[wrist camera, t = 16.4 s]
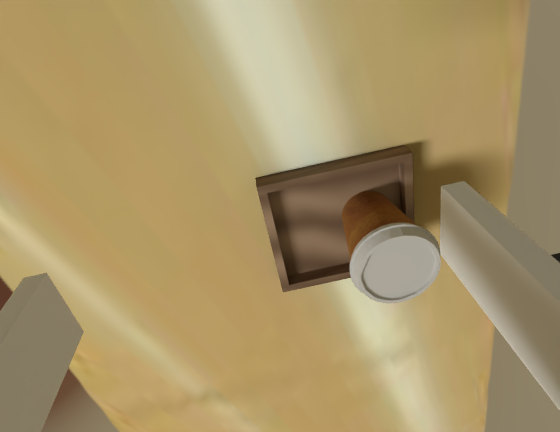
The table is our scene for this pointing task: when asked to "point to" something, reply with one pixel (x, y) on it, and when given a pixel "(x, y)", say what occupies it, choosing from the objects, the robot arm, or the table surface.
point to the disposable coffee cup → (388, 249)
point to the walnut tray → (327, 211)
